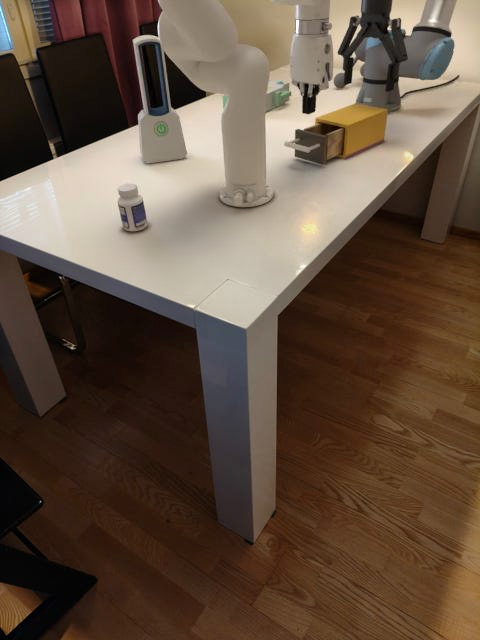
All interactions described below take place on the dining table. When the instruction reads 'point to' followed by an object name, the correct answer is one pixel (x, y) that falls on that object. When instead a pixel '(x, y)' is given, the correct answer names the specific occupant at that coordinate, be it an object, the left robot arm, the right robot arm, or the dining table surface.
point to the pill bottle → (131, 208)
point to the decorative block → (272, 94)
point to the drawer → (318, 142)
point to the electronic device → (157, 113)
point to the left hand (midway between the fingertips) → (308, 112)
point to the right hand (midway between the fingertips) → (367, 87)
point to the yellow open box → (358, 127)
